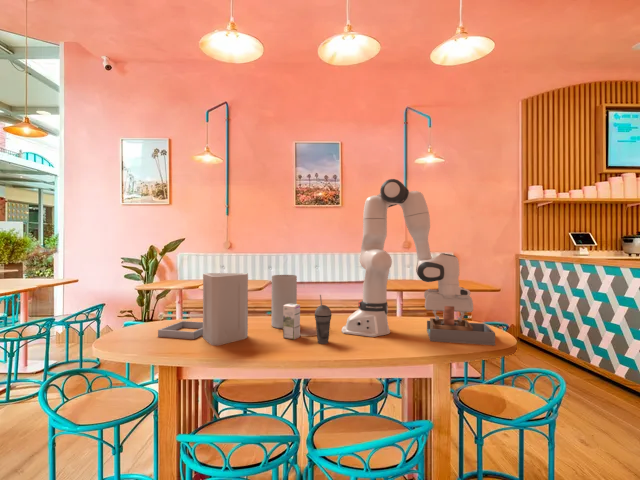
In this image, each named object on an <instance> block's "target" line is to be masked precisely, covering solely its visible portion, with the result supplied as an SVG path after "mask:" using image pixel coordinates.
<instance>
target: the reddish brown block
mask: <svg viewBox="0 0 640 480" xmlns="http://www.w3.org/2000/svg"><path fill="white" fill-rule="evenodd" d="M442 312H443V318H442V319H443V323H444V325H454V319H455V311H454V306H445V311H442Z"/></svg>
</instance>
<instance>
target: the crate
mask: <svg viewBox="0 0 640 480" xmlns="http://www.w3.org/2000/svg"><path fill="white" fill-rule="evenodd" d="M429 321H430V329H444V330H461V331H473V327H472V326H471V325H470V323H471V322H469V321H468V320H467V319H462V322H458V318H454V325H444V323H443V318H439V321H436V320H435V318H434V317H430V318H429Z"/></svg>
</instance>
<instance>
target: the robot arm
mask: <svg viewBox="0 0 640 480" xmlns="http://www.w3.org/2000/svg"><path fill="white" fill-rule="evenodd" d="M379 192H380V193H379V194H377V195H371V196H368V197H367V198H366V199H365V202H364V205H363V206H364V207H363V216H362V217H363V218H362V240H361V241H362V242H361V247H360V248H361V249H360V255H359V262H360V265H361V266H362V268H363V269H364V270H365V275H364V279H363V284H362V300H359V301H358V307H357V308H358V309H356V311H354V312H353V313H351V314H350V315H349V316H348V317H347V319H346V323H345V325H344V326H342V328H341V333H342V334H348V335H353V336H354V335H356V336H363V337H371V338H373V337H378V336H384V335H385V336H387V335H389V334H390V333H391V330H390V327H389V321H388V312H389V309H388V307H389V306H388V305H389V304H388V301H387V291H388V289H387V288H388V287H387V286H388V279H389V274H390V269H391V267H392V264H393V260H392V256H391V255H390V254H389V253H388V252H387V251H385V250H384V248H385V242H386V239H387V237H388V221H387V219H388V215H387V214H388V209H389V208H391V207H394V206H397V205H398V206H400V208H401V209H402V212H403V218H404V222H405V225H406V228H407V230H408V233H409V234H410V236H411V238H412V240H413V242H414V246H415V251H416V256H417V257H416V258H417V263H416V269H415V271H416V272H415V273H416V275H417V276H418V278H419V279H420V280H421V281H423V282H425V283H432V282H437V289H435V288H434V289H430V288H429V289H427V290H425V291H424V293H423V297H424V300H425V301H424V308H425V309H426V311H432V314H433V315H434V317H435V320H436V321H439V319H440V316H439V315H437V312H438V311H439V312H443V311H445V306H454V312H459V313H460V315H459V317H457V319H458V322H462V320H463V318H464V317H465V313H472V312H473V311H474V300H473V299H472V296H471V291H470V290H469V289H467V288H465V287H462V286H460V282H459V276H460V263H459V259H458V257H457V256H456V255H454V254H449V253H442V252H441V253H440V254H439V255H437V256H435V257H432V253H431V248H430V244H429V235H430V231H431V218H430V211H429V208H428V204H427V201H426V199H425V197H424V194H423V192H421V191H419V190H411V191H410V190H409V189H408V188H407V186H405V184H404V183H403V182H402V181H400V180H398V179H395V178H390V179H387V180H385V181H384V182H383V183H382V184H381V187H380V191H379Z"/></svg>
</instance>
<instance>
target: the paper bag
mask: <svg viewBox="0 0 640 480" xmlns="http://www.w3.org/2000/svg"><path fill="white" fill-rule="evenodd" d="M202 285H203V286H202V322H203V335H202V339H204V340H205V341H206V342H207V343H208V344H209V345H211V346H222V345H225V344H229V343H233V342H238V341H242V340H245V339H247V338H248V337H249V336H248V335H249V334H248V332H249V330H248V328H249V327H248V326H249V324H248V321H249V306H248V305H249V293H248V292H249V273H243V272H241V273H239V272H206V273H205V272H204V273H203V274H202Z"/></svg>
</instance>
